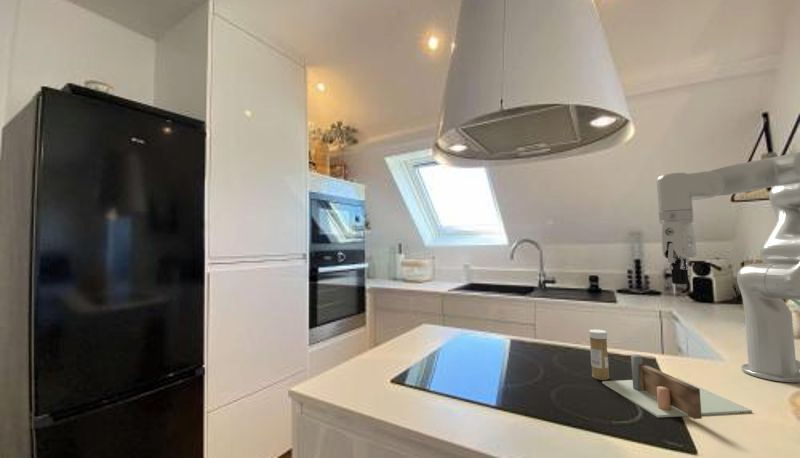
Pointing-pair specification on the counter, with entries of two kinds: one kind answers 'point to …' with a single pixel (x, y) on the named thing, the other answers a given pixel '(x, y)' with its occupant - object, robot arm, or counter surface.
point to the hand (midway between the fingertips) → (680, 283)
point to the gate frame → (662, 403)
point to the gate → (672, 390)
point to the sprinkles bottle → (599, 354)
